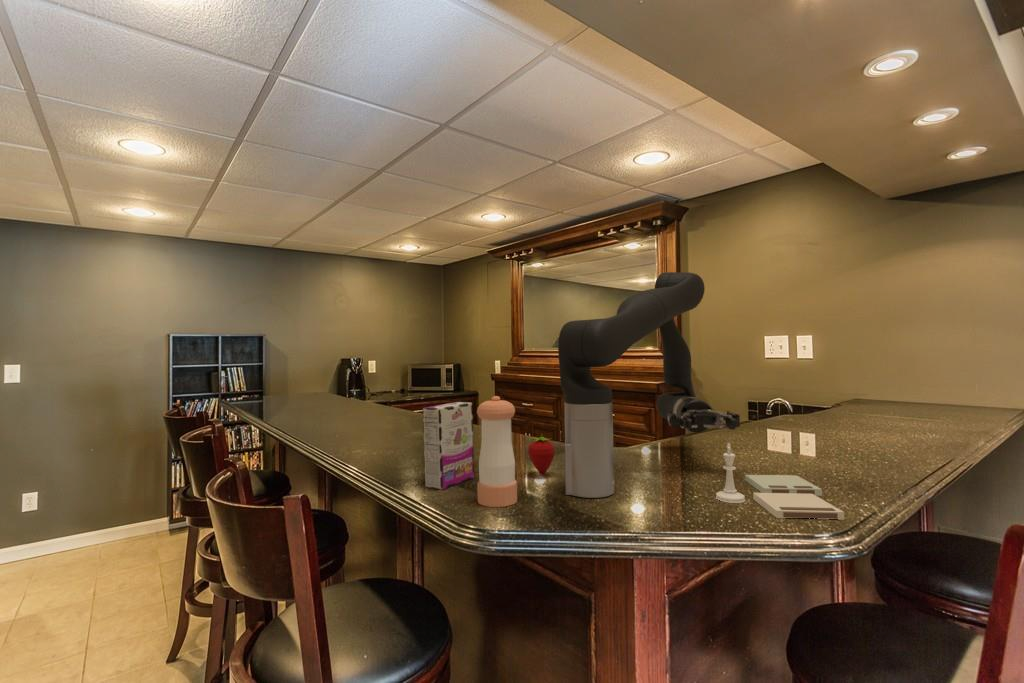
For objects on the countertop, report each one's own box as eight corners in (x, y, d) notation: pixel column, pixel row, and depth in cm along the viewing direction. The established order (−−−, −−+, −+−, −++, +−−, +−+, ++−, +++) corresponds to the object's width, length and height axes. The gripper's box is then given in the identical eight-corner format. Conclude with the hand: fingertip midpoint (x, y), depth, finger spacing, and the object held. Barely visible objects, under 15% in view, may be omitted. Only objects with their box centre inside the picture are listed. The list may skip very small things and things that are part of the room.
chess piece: (743, 496, 89) (742, 441, 90) (747, 504, 85) (745, 446, 85) (714, 494, 91) (713, 440, 91) (716, 501, 86) (715, 445, 87)
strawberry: (528, 479, 103) (527, 432, 104) (528, 471, 111) (527, 427, 111) (556, 479, 103) (555, 432, 103) (554, 471, 111) (553, 427, 111)
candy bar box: (456, 475, 108) (455, 401, 109) (474, 477, 106) (473, 402, 106) (422, 487, 99) (421, 406, 99) (441, 490, 96) (440, 407, 97)
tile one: (777, 518, 77) (776, 509, 77) (753, 499, 87) (753, 491, 87) (844, 520, 76) (844, 511, 76) (812, 500, 86) (812, 492, 86)
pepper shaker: (477, 495, 92) (475, 394, 93) (515, 494, 93) (513, 394, 93) (478, 508, 85) (476, 398, 85) (519, 506, 86) (517, 397, 86)
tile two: (764, 494, 90) (764, 487, 90) (745, 480, 100) (745, 474, 100) (822, 496, 89) (822, 488, 89) (796, 481, 99) (796, 474, 99)
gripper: (660, 398, 116) (675, 406, 100) (722, 397, 115) (747, 405, 99) (661, 429, 116) (676, 443, 100) (724, 429, 115) (749, 443, 99)
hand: (711, 424), depth 99 cm, fingers open, 8 cm apart
